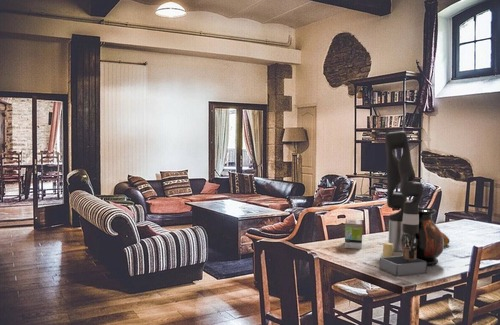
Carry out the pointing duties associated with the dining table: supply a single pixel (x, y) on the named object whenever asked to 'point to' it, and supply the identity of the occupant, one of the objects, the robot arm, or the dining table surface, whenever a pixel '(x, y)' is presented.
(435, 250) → the amphora vase
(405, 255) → the cube
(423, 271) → the tote
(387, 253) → the candle
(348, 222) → the tea box
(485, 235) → the dining table surface
